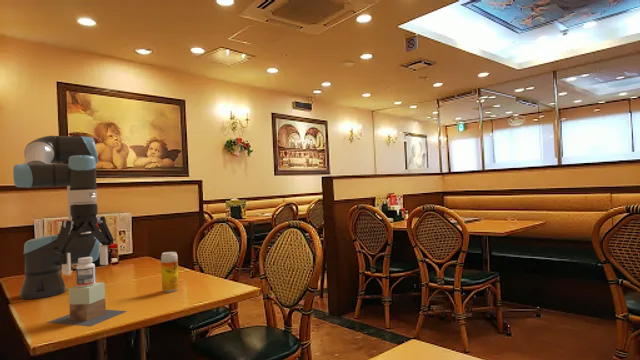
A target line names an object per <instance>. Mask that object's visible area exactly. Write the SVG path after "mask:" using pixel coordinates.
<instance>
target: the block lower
mask: <svg viewBox="0 0 640 360" xmlns="http://www.w3.org/2000/svg"><path fill="white" fill-rule="evenodd" d="M68 306H69V314H70V320H80V321H88V320H91V319H93V318H96V317H99V316H101V315H104V314H106V310H107V307H106V297H105V298H103V299H101V300H99V301H96V302H94V303H91V304H69V305H68Z"/></svg>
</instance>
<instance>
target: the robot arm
mask: <svg viewBox="0 0 640 360" xmlns="http://www.w3.org/2000/svg"><path fill="white" fill-rule="evenodd" d="M96 146H97V145H96V142H95V140H94V138H92V137H91V136H83V135H82V136H81V135H79V136H78V135H77V136H76V135H46V136H41V137H38V138H36V139H34V140H32V141H30V142H29V143H28V144H26V146H25V147H24V151H23V156H24V159H25V160H24V163H19V164H18V163H16V164H14V165H13V171H12V174H13V183H14V186H15V187H17V188H27V189H29V188H44V187H66V190H67V207H68V208H67V212H68V214H67V215H68V220H62V221H61V228H60V230H59V233H58V234H51V235H46V236H40V237H36V238H31V239H29V240H27V241H26V242H24V245H23V255H24V279H23V283H22V285H21V288H20V291H19V298H20V299H22V300H35V299H43V298H48V297H53V296H56V295H61V294H63V293H64V292H66V291H67V290H66V284H65V282H64V278H63V277H62V275H67V276H68V275H71V274H72V265H79V263H78V259H79V258H82V257H92V258H93V261H92V263H93V262H96V261H97V260H98V259H99V266H108V265H109V254H110V250H109V249H110V246H111V245H112V243H114V241H115V239H114V237H113V235H112V232H111V230H110V229H109V227H108V224H107V223H106V216H104V215H103V216H97V215H98V214H99V213H98V204H97V202H98V191H97V164H98V163H99V159H98V158H99V155H98V150H97V147H96ZM60 268H61V269H60ZM61 273H62V274H61Z"/></svg>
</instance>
